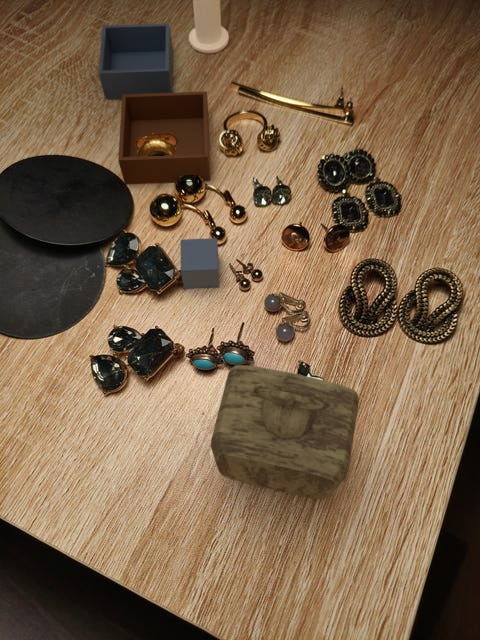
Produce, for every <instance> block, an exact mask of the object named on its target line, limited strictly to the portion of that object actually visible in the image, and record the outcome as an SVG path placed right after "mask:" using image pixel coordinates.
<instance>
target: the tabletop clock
mask: <svg viewBox="0 0 480 640" xmlns="http://www.w3.org/2000/svg"><path fill="white" fill-rule="evenodd" d="M359 404H360V398H359V395H358V392H357V391H356V390H355V389H354V388H353V389H352V388H351V387H347V386H345V385H342V384H338V383H336V382H332V381H327V380H323V379H320V378H315V377H311V376H308V375H307V376H306V375H302V374H299V373H294V372H289V371H283V370H278V369H272V368H267V367H262V366H256V365H255V366H254V365H243V364H235V365H234V366H232V367H231V368H230V369H229V371H228V373H227V376H226V381H225V385H224V389H223V392H222V397H221V401H220V404H219V407H218V412H217V416H216V420H215V424H214V428H213V431H212V434H211V435H212V436H211V439H210V440H211V441H210V449H211V451H212V455H213V458H214V462H215V465H216V468H217V470H218V472H219V473H220V475H221V476H223V477H225V478H226V479H229V480H232V481H235V482H238V483H243V484H247V485H251V486H256V487H259V488H262V489H263V488H264V489H268V490H272V491H276V492H281V493H286V494H288V495H289V494H290V495H294V496H299V497H303V498H308V499H315V500H324V499H327V498H328V497H330V496H331V495H332V494H333V493H334V492H335V491H336V490H337V489H338V487H339V486H340V485H341V484H342V483H343V481H344V480H345V479H346V478H347V476H348V474H349V469H350V463H351V456H352V451H353V444H354V439H355V438H354V437H355V430H356V423H357V418H358V417H357V416H358V411H359Z"/></svg>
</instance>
